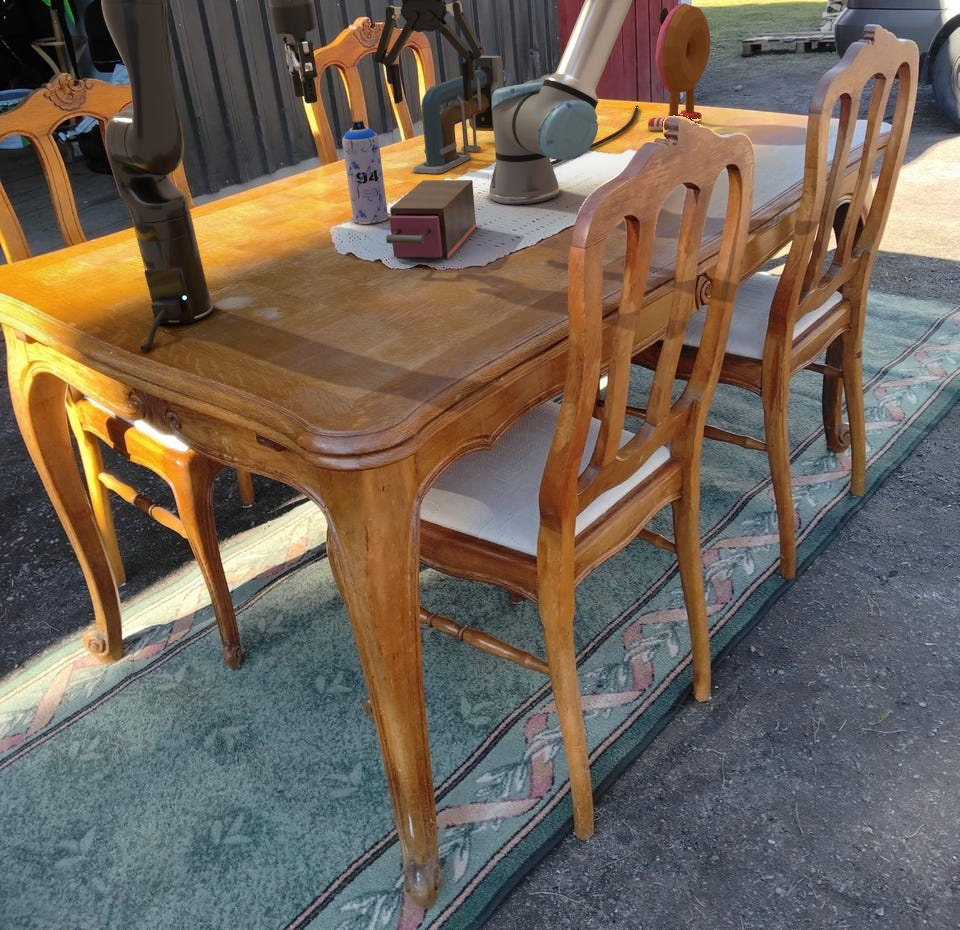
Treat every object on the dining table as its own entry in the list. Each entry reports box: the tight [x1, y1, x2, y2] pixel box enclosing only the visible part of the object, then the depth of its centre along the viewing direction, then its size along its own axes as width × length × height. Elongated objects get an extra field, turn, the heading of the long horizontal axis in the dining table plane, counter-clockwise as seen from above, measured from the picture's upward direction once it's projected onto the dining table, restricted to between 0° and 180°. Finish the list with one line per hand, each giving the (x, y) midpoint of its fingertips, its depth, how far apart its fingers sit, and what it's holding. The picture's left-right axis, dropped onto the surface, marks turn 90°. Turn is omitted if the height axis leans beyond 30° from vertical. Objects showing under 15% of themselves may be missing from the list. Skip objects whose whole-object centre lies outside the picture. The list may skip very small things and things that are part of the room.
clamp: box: [412, 55, 504, 175], centre depth 244 cm, size 35×9×21 cm, turn 151°
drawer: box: [385, 214, 442, 258], centre depth 182 cm, size 24×9×7 cm, turn 164°
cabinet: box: [389, 179, 477, 260], centre depth 187 cm, size 19×10×10 cm, turn 164°
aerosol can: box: [342, 120, 390, 225], centre depth 201 cm, size 8×8×20 cm
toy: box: [647, 2, 711, 131], centre depth 254 cm, size 21×10×30 cm, turn 141°
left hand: (306, 99), depth 177 cm, fingers open, 8 cm apart
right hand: (433, 101), depth 180 cm, fingers open, 13 cm apart
